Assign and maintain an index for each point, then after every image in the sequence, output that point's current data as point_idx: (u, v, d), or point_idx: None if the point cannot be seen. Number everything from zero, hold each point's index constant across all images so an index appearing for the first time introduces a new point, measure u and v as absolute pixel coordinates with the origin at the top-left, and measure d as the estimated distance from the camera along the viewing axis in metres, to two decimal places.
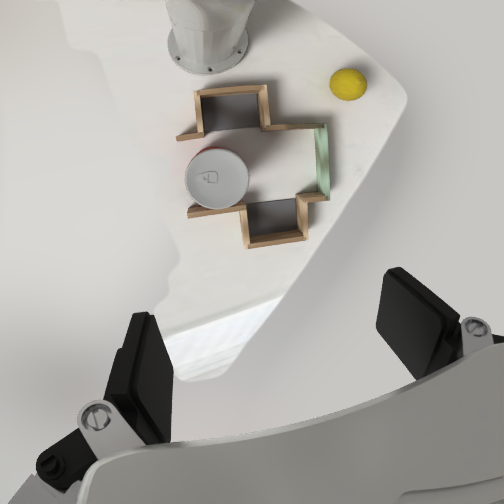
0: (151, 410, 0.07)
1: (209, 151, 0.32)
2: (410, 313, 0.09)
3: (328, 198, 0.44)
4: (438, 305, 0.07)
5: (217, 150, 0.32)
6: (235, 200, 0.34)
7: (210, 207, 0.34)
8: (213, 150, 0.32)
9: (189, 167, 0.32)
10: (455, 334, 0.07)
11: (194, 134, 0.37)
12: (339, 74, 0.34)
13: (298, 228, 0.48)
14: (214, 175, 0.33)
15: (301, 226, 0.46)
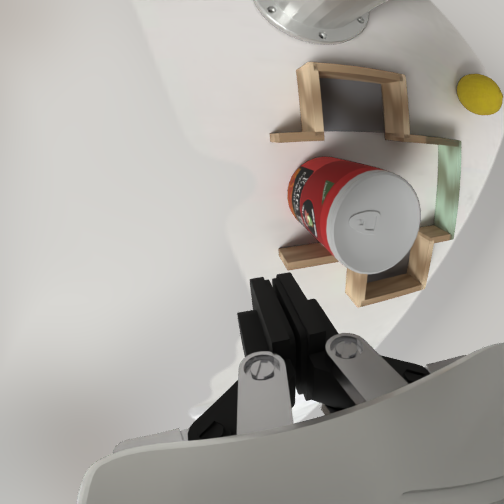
0: None
1: (376, 175, 0.16)
2: None
3: (452, 237, 0.29)
4: (304, 316, 0.08)
5: (388, 175, 0.16)
6: (397, 259, 0.19)
7: (362, 271, 0.19)
8: (382, 174, 0.16)
9: (342, 202, 0.17)
10: None
11: (309, 134, 0.22)
12: (478, 81, 0.19)
13: (410, 271, 0.33)
14: (376, 217, 0.18)
15: (419, 272, 0.31)
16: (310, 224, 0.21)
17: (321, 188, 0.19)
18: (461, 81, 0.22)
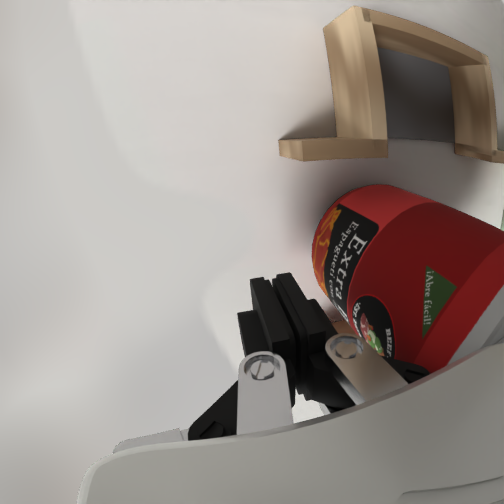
0: None
1: None
2: None
3: None
4: (304, 316, 0.08)
5: None
6: None
7: None
8: None
9: None
10: None
11: (362, 144, 0.10)
12: None
13: None
14: None
15: None
16: (374, 346, 0.09)
17: (417, 287, 0.07)
18: None
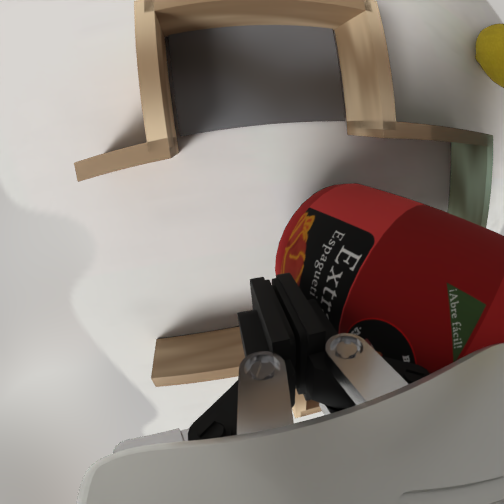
0: None
1: None
2: None
3: None
4: (304, 317, 0.08)
5: None
6: None
7: None
8: None
9: None
10: None
11: (134, 150, 0.09)
12: None
13: None
14: None
15: None
16: None
17: (441, 308, 0.06)
18: (483, 34, 0.09)
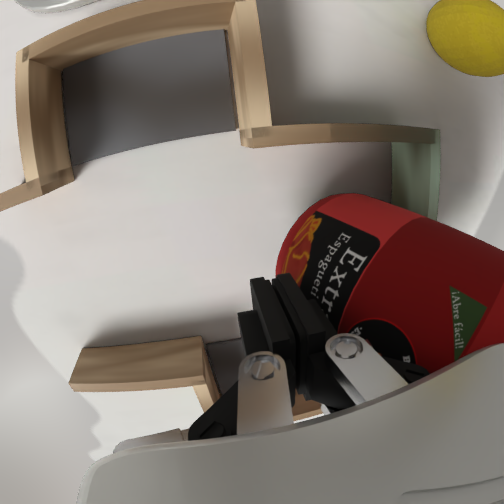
0: None
1: None
2: None
3: None
4: (304, 317, 0.08)
5: None
6: None
7: None
8: None
9: None
10: None
11: (19, 190, 0.09)
12: (467, 1, 0.06)
13: None
14: None
15: None
16: None
17: (443, 309, 0.06)
18: (432, 10, 0.08)
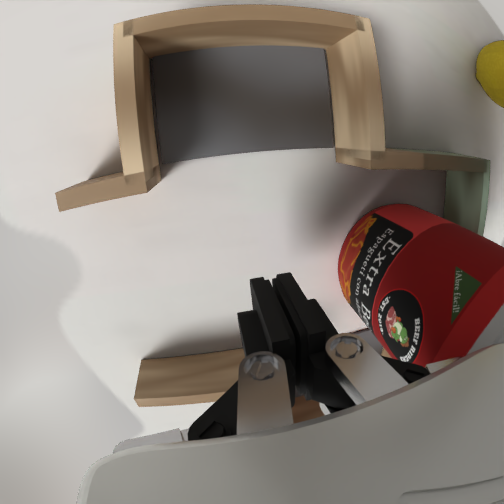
0: None
1: None
2: None
3: None
4: (304, 316, 0.08)
5: None
6: None
7: None
8: None
9: (502, 334, 0.05)
10: None
11: (112, 183, 0.09)
12: None
13: None
14: None
15: None
16: (398, 338, 0.10)
17: (448, 282, 0.08)
18: (484, 52, 0.09)
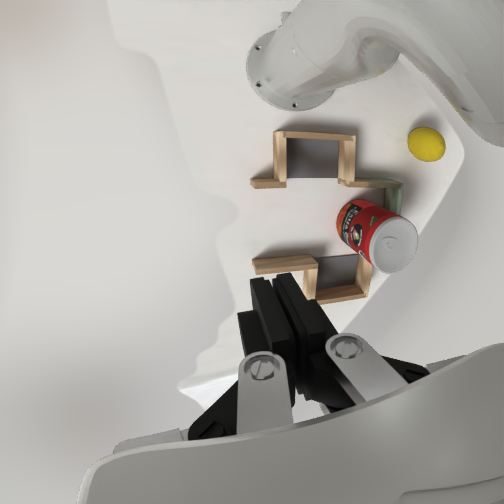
0: None
1: (401, 219, 0.31)
2: None
3: None
4: (304, 316, 0.08)
5: (406, 221, 0.31)
6: (399, 268, 0.34)
7: (381, 270, 0.33)
8: (404, 220, 0.31)
9: (382, 228, 0.31)
10: None
11: (276, 183, 0.34)
12: (424, 135, 0.32)
13: (357, 283, 0.46)
14: (395, 242, 0.32)
15: (362, 283, 0.44)
16: (356, 238, 0.35)
17: (369, 219, 0.34)
18: (411, 134, 0.35)
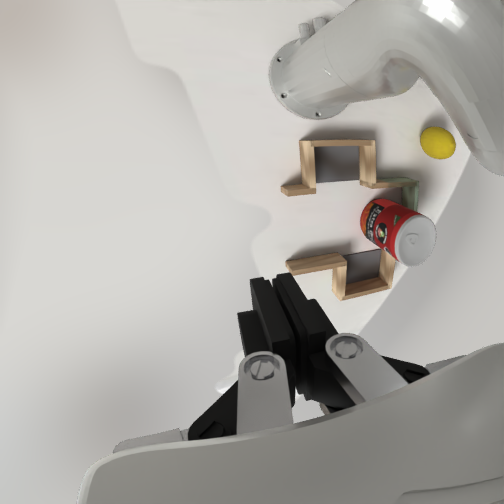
0: None
1: (421, 217, 0.33)
2: None
3: None
4: (304, 316, 0.08)
5: (426, 218, 0.33)
6: (421, 261, 0.35)
7: (405, 264, 0.35)
8: (424, 217, 0.33)
9: (406, 227, 0.33)
10: None
11: (306, 190, 0.36)
12: (436, 135, 0.34)
13: (381, 275, 0.48)
14: (417, 237, 0.34)
15: (386, 276, 0.46)
16: (381, 236, 0.37)
17: (393, 218, 0.35)
18: (423, 133, 0.36)
